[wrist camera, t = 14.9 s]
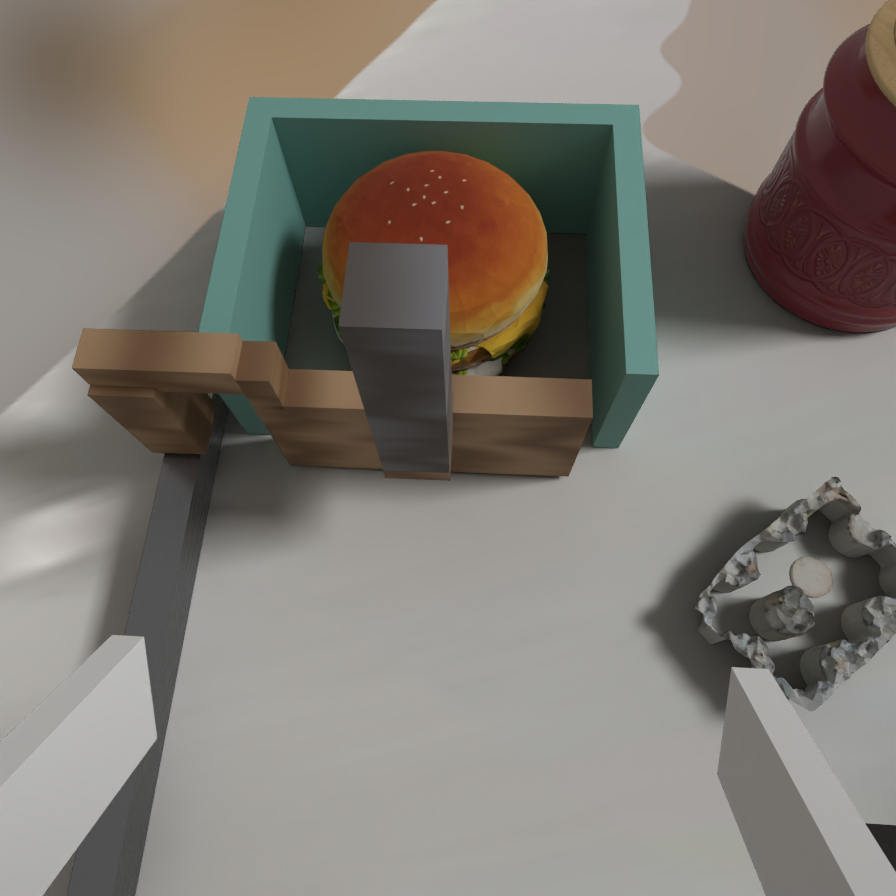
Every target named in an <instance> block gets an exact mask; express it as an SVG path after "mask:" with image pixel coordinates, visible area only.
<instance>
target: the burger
mask: <svg viewBox="0 0 896 896" xmlns="http://www.w3.org/2000/svg"><path fill="white" fill-rule="evenodd" d="M349 242H364V243H399V244H435V245H447V250H448V281H449V312H450V343H451V374H452V375H479V376H498V375H499V374H501V373H502V365H504V364H506V363H508V361H509V359H510V358H511V357H512V356H513V355H514V354H515V353H516V352H518V351H520V350H522V349H523V348H524V347H525V345H526V344H527V343H528V341H529V340H530V338H531V335H532V333H533V332H534V331H535V330H536V329H537V327H538V326H539V323H540V318H541V313H542V308H545V303H544V299H545V296H546V293H547V290H548V286H549V285H548V284H546V283H548V282H550V278H549V276H548V274H549V271H550V269H549V268H548V267H547V262H548V250H547V233H546V229H545V226H544V223H543V220H542V217H541V214H540V212H539V210H538V209H537V207H536V205H535V204H534V202H533V200H532V199H531V197H530V195H529V194H528V193H527V192H526V191H525V190H524V189H523V188H522V187H521V186H520V185H519V184H518V183H517V182H516V181H515V180H514V179H513V178H512V177H510V176H509V175H508V174H506V173H505V172H503V171H502V170H500V169H498V168H497V167H495V166H494V165H492V164H490V163H489V162H486V161H483V160H480V159H477V158H475V157H472V156H469V155H466V154H461V153H453V152H445V151H423V152H417V153H410V154H405V155H402V156H399V157H397V158H394V159H391V160H388V161H386V162H383V163H381V164H380V165H378V166H377V167H375V168H374V169H372V170H371V171H369V172H367V173H366V174H364V175H363V176H361V177H360V178H358V179H357V180H356V181H355V182H354V183H353V184H352V186H351V187H350V188H349V189H348V190H347V191H346V193H345V194H344V195H343V196H342V197H341V199H340V200H339V201H338V202H337V204H336V205H335V206H334V209H333V211H332V214H331V216H330V218H329V221H328V223H327V226H326V228H325V231H324V235H323V243H322V263H323V266H321V267H318V268H317V271H318V272H319V277H318V278H319V279H320V280H321V282H322V283H323V284H322V285H323V292H322V294H323V300H324V301H325V303H326V305H327V308H328V309H330V310H331V311H332V317H333V322H334V326H335V330H336V335H337V336H338V338H339V339H340V340H341V341H342V343H343V344H344V342H343V339H342V336H341V333H340V329H339V319H340V311H341V303H342V296H343V288H344V280H345V272H346V264H347V257H348V249H349Z"/></svg>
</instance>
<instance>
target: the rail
mask: <svg viewBox="0 0 896 896" xmlns="http://www.w3.org/2000/svg"><path fill="white" fill-rule="evenodd" d="M207 394H208V395H209V396H210V397H211V399H212V400H213V401H214V403H215V404H216V409H215V414H214V419H213V424H212V429H211V434H210V439H209V444H208V449H207V455H205V454H180V453H165V455H164V460H163V464H162V469H161V473H160V478H159V482H158V487H157V491H156V496H155V500H154V505H153V509H152V514H151V518H150V523H149V527H148V532H147V536H146V541H145V545H144V550H143V554H142V559H141V563H140V568H139V572H138V577H137V581H136V586H135V590H134V595H133V599H132V604H131V608H130V613H129V617H128V622H127V626H126V631H125V635H124V636H142V637H144V641H145V648H146V656H147V664H148V671H149V679H150V687H151V694H152V702H153V709H154V717H155V725H156V732H157V739H156V741H155V742H154V743H153V745H152V746H151V747H150V749H149V750H148V752H147V753H146V754H145V756H144V757H143V758H142V760H141V761H140V763H139V764H138V765H137V767H136V768H135V769H134V771H133V772H132V774H131V775H130V776H129V778H128V779H127V780H126V782H125V783H124V785H123V786H122V787H121V789H120V790H119V791H118V793H117V794H116V795H115V797H114V798H113V800H112V801H111V802H110V804H109V805H108V806H107V808H106V809H105V811H104V812H103V813H102V815H101V816H100V817H99V819H98V820H97V822H96V823H95V824H94V826H93V827H92V828H91V830H90V831H89V833H88V834H87V835H86V837H85V838H84V839H83V841H82V842H81V844H80V845H79V846H78V848H77V852H76V856H75V861H74V865H73V870H72V874H71V879H70V883H69V888H68V892H67V896H135V893H136V887H137V882H138V877H139V872H140V866H141V861H142V856H143V850H144V845H145V840H146V835H147V829H148V824H149V819H150V814H151V808H152V803H153V798H154V793H155V787H156V782H157V777H158V771H159V766H160V761H161V756H162V750H163V745H164V740H165V735H166V729H167V724H168V719H169V714H170V708H171V703H172V698H173V692H174V687H175V682H176V677H177V671H178V666H179V661H180V656H181V650H182V645H183V640H184V635H185V629H186V624H187V619H188V613H189V608H190V603H191V598H192V592H193V587H194V582H195V577H196V571H197V566H198V561H199V556H200V550H201V545H202V540H203V534H204V529H205V524H206V519H207V513H208V508H209V503H210V498H211V492H212V487H213V482H214V477H215V471H216V466H217V461H218V455H219V450H220V445H221V440H222V434H223V429H224V424H225V419H226V413H227V408H228V406H227V405H226V403H225V402H224V401H223V399H222V398H221V397H220V395H219V394H214V393H207Z"/></svg>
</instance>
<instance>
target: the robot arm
mask: <svg viewBox="0 0 896 896" xmlns="http://www.w3.org/2000/svg"><path fill="white" fill-rule="evenodd" d="M156 739H157V732H156V725H155V717H154V709H153V702H152V694H151V687H150V679H149V671H148V664H147V656H146V648H145V641H144V637H142V636H123V635H112V636H111V637H109V638H108V639H107V640H106V641H105V642H104V643H103V644H102V645H101V646H100V647H99V648H98V649H97V650H96V651H95V652H94V653H93V654H92V655H91V656H90V657H89V658H88V659H86V660H85V661H84V662H83V663H82V664H81V665H80V666H79V667H78V668H77V669H76V670H75V671H74V672H73V673H72V674H71V675H70V676H69V677H68V678H67V679H66V680H65V681H63V682H62V683H61V684H60V685H59V686H58V687H57V688H56V689H55V690H54V691H53V692H52V693H51V694H50V695H49V696H48V697H47V698H46V699H45V700H44V701H43V702H42V703H41V704H39V705H38V706H37V707H36V708H35V709H34V710H33V711H32V712H31V713H30V714H29V715H28V716H27V717H26V718H25V719H24V720H23V721H22V722H21V723H20V724H19V725H18V726H16V727H15V728H14V729H13V730H12V731H11V732H10V733H9V734H8V735H7V736H6V737H5V738H4V739H3V740H2V741H1V742H0V896H43V894H44V893H45V892H46V890H47V889H48V888H49V886H50V885H51V883H52V882H53V881H54V879H55V878H56V877H57V875H58V874H59V872H60V871H61V870H62V868H63V867H64V866H65V864H66V863H67V861H68V860H69V859H70V857H71V856H72V855H73V853H74V852H75V850H76V849H77V848H78V846H79V845H80V844H81V842H82V841H83V839H84V838H85V837H86V835H87V834H88V833H89V831H90V830H91V828H92V827H93V826H94V824H95V823H96V822H97V820H98V819H99V817H100V816H101V815H102V813H103V812H104V811H105V809H106V808H107V806H108V805H109V804H110V802H111V801H112V800H113V798H114V797H115V795H116V794H117V793H118V791H119V790H120V789H121V787H122V786H123V785H124V783H125V782H126V780H127V779H128V778H129V776H130V775H131V774H132V772H133V771H134V769H135V768H136V767H137V765H138V764H139V763H140V761H141V760H142V758H143V757H144V756H145V754H146V753H147V752H148V750H149V749H150V747H151V746H152V745H153V743H154V742H155V741H156ZM717 775H718V777H719V780H720V782H721V785H722V787H723V790H724V792H725V795H726V797H727V800H728V802H729V805H730V807H731V810H732V812H733V815H734V817H735V820H736V822H737V825H738V827H739V830H740V832H741V835H742V837H743V840H744V842H745V845H746V847H747V850H748V852H749V855H750V857H751V860H752V862H753V865H754V867H755V870H756V872H757V875H758V877H759V880H760V882H761V885H762V887H763V890H764V892H765V895H766V896H896V826H895V825H881V824H866V823H865V822H864V821H863V819H862V818H861V816H860V814H859V813H858V811H857V810H856V808H855V806H854V805H853V803H852V802H851V800H850V798H849V797H848V795H847V794H846V792H845V790H844V789H843V787H842V786H841V784H840V782H839V781H838V779H837V778H836V776H835V774H834V773H833V771H832V770H831V768H830V766H829V765H828V763H827V762H826V760H825V758H824V757H823V755H822V754H821V752H820V751H819V749H818V747H817V746H816V744H815V743H814V741H813V739H812V738H811V736H810V735H809V733H808V731H807V730H806V728H805V727H804V725H803V723H802V722H801V720H800V719H799V717H798V715H797V714H796V712H795V711H794V709H793V707H792V706H791V704H790V703H789V701H788V699H787V698H786V696H785V695H784V693H783V691H782V690H781V688H780V687H779V685H778V683H777V682H776V680H775V679H774V677H773V676H772V674H771V672H770V671H769V669H758V668H739V667H731V675H730V682H729V690H728V697H727V705H726V712H725V720H724V727H723V735H722V742H721V750H720V757H719V764H718V772H717Z"/></svg>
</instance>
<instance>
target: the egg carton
mask: <svg viewBox="0 0 896 896" xmlns="http://www.w3.org/2000/svg"><path fill="white" fill-rule="evenodd" d="M839 482H841V481H840V479H839V478H838V477H832V479H830V480H829V481H827V482H825V483H824V484H823V486H822V487H820V488H819V489H818V490H816V491H815V492H814V493H812V494H811V495H810V496H809V497H808V498H807V499H800V500H797V501H796V502H795V503H793V504H792V505H790V506H789V507H788V508H787V509H786V510H784V511H783V512H782V513H781V514H780V517H779V518H778V519H777V520H776V521H774V522H773V523H772V524H771V525H770V526H769V527H768V528H766V529H765V530H764V531H762V532H761V533H759V534H758V535H757V536H755V537H754V538H753V539H751V540H750V541H749V542H747V543H746V544H745V545H743V546H742V547H741V548H740V549H739V550H738V551H737V552H736V553H735V554H734V555H733V556H732V558H731V559H730V560H729V561H728V562H727V564H726V565H725V566H724V567H723V568H722V570H721V571H720V572H719V573H718V574H717V576H716V577H715V578H714V580H713V581H712V583H711V584H710V585H709V586H708V587H707V588H706V589H705V590H704V591H703V592H702V593H701V594H700V595H699V597H698V598H697V601H698V605H697V606H695V609H696V610H698V611H700V612H701V613H702V621H701V624H700V626H699V629H698V631H699V633H700V634H701V635H702V636H703V637H704V638H705V639H706V640H707V641H708V642H709V643H710V644H714V643H717V642H720V641H723V640H731V641H732V644H733V646H734V648H735V649H736V650H737V651H738V652H739V653H740V654H742V655H743V656H745V657H747V658H749V659H750V661H751V668H758V669H769V671H770V672H771V674H772V676H773V672H774V669H775V664H774V663H773V662H772V660H771V659H770V658H769V655H768V647H767V645H766V643H765V642H764V641H763V640H762V639H761V638H760V637H759V636H761V637H763V638H765V639H767V640H771V641H780V640H785V639H788V638H792V637H797V636H800V635H803V634H804V633H806V632H807V631H808V630H810V629H811V628H812V627H813V626H814V625H815V620H814V606H813V604H812V603H811V601H810V600H809V598H808V597H811V598H814V597H821V596H824V595H826V594H827V593H828V592H830V590H831V588H832V585H833V577H832V573H831V571H830V569H829V567H828V566H827V565H826V564H825V563H823V562H822V561H821V560H819V559H816V558H813V557H810V556H809V557H801V558H799V559H797V560H796V561H794V563H793V565H792V567H791V568H790V578H791V582H792V584H793V586H787V587H785V588H784V589H782V590H779V591H776V592H773V593H771V594H769V595H767V596H765V597H762V598H760V599H758V600H757V601H755V602H754V603H753V604H752V606H751V608H750V611H749V621H750V624H751V626H752V627H753V629H754V631H755V632H756V633H757V634H758V635H759V636H754V637H750V636H748V635H747V634H745V633H743V634H738V635H735V636H734V634H733V633H732V632H731V631H726V632H724V633H722V634H721V633H719V632H717V631H716V630H715V629H714V628H713V626H712V621H713V619H714V617H715V616H716V614H717V605H716V599H715V597H712V596H711V595H710V592H711V590H712V589H714V590H716V591H718V592H726V593H730V592H732V591H735V590H737V589H739V588H742V587H743V586H745V585H747V584H749V583H751V582H752V581H755V580H757V579H758V578H759V576H760V575H761V574H760V572H759V571H758V567H757V557H756V554H755V553H754V551H753V549H754V550H757V551H759V552H770V551H774V550H776V549H777V548H779V547H782V546H784V545H785V544H787V543H789V542H791V541H794V540H795V539H796V537H797V536H798V535H801V534H804V533H805V531H806V526H807V524H808V521H807V518H808V517H809V516H810V515H812V514H813V513H814V512H815V511H816V510H819V511H820V512H822V513H823V514H824V515H825V516H826V517H827V518H828V519H829V520H830V521H831V522H832V523H831V525H830V528H829V531H828V536H829V540H830V543H831V544H832V546H833V547H834V548H835V549H836V550H837V551H838V552H839V553H841V554H843V555H845V556H847V557H851V558H857V557H861V556H864V555H866V554H869V555H870V556H872V558H873V559H874V560H875V561H876V562H877V563H878V564H879V565H880V566H881V571H880V574H879V583H880V586H881V588H882V590H883V591H884V593H885V594H886V595H887V596H881V595H879V596H875V597H872V598H869V599H866V600H862V601H860V602H857V603H854V604H851V605H849V606H847V607H846V608H845V609H844V611H843V613H842V616H841V625H842V629H843V631H844V633H845V635H846V637H847V638H848V640H849V641H848V642H847V641H846V640H837V641H834V642H832V643H827V644H824V645H819V646H814V647H811V648H809V649H808V650H806V651H805V652H804V653H803V654H802V656H801V659H800V670H801V674H802V676H803V678H804V680H805V682H806V684H807V687H806V689H805V690H801V689H792V688H791V686H790V685H789V684H788V683H787V681H786V680H785V679H784V678H782V677H775V676H773V677H774V679H775V680H776V682H777V683H778V685H779V687H780V688H781V690H782V691H783V693H784V695H785V696H787V697H788V698H790V699H791V700H792V701H794V702H796V703H797V704H799V705H801V706H802V707H804V708H805V709H807V710H809V711H814V710H815V709H817V708H818V707H819V706H820V705H821V704H822V703H823V702H824V701H825V700H827V699H828V698H829V697H830V696H831V695H832V694H833V693H834V691H835V690H836V689H837V688H838V687H839V686H840V685H841V684H842V683H843V682H844V681H845V680H847V679H849V678H850V677H851V674H852V673H854V672H855V671H856V670H858V669H859V668H860V667H862V666H863V665H865V664H867V662H868V661H869V660H870V659H871V658H872V657H873V656H874V655H875V653H876V652H877V651H878V650H879V649H880V648H881V647H882V646H884V645H885V644H886V643H887V642H888V641H889V640H890V639H891V638H892V637H893V635H894V634H895V633H896V544H895V543H894V542H893V541H892V540H891V536H890V535H889V534H888V533H886V532H885V531H882V530H875V529H874V528H873V527H872V526H871V525H870V524H869V523H867V522H866V521H865V520H864V519H863V518H862V517H861V516H859V515H858V514H859V513H860V510H861V507H860V505H859V504H858V502H857V501H856V500H855V499H854V498H853V497H852V496H851V495H850V494H849V493H848V492H846V491H845V490H844V489H843V488H842V487H841V485H840V484H839ZM807 596H808V597H807Z"/></svg>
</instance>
